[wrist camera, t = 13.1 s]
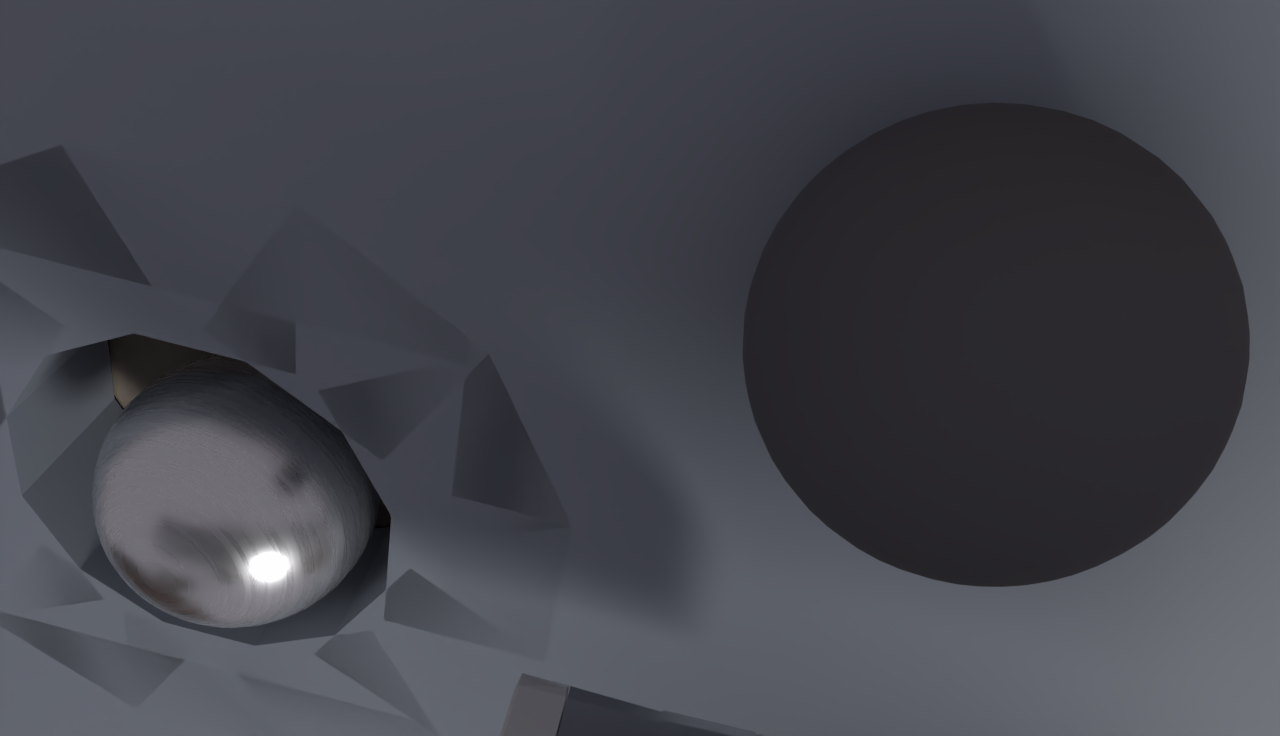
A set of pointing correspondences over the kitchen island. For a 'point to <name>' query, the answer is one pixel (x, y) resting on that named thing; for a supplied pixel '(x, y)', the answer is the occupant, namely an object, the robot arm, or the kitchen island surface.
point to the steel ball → (229, 497)
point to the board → (577, 359)
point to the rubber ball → (996, 344)
